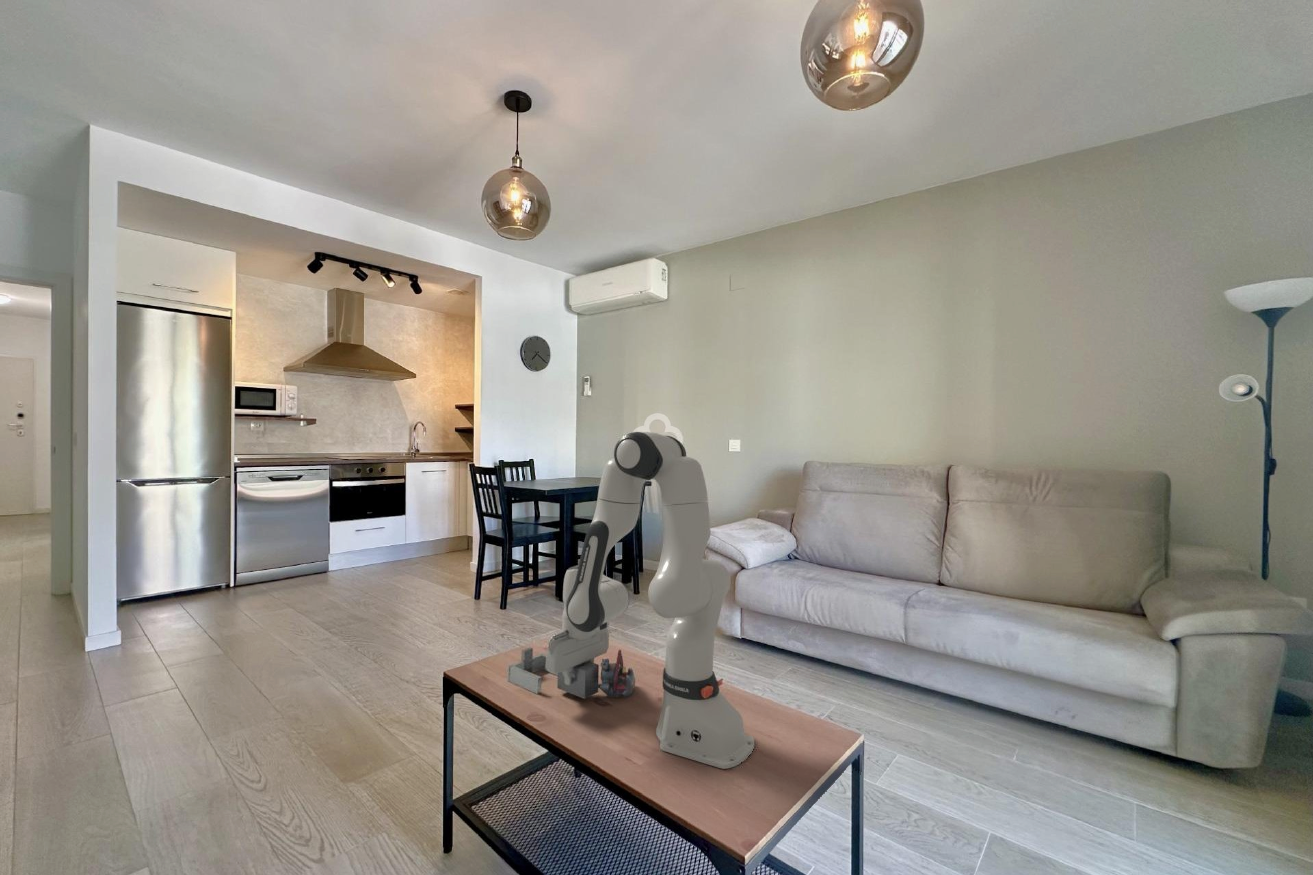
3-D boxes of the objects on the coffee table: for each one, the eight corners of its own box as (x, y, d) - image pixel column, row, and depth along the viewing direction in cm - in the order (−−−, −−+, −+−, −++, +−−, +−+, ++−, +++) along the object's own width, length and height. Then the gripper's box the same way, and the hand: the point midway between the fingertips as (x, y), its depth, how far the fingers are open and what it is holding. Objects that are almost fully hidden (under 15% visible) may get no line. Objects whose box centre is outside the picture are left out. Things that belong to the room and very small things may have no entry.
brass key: (627, 671, 154) (627, 666, 154) (624, 676, 151) (624, 670, 151) (603, 669, 156) (604, 663, 156) (600, 673, 153) (600, 668, 153)
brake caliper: (640, 693, 135) (613, 653, 136) (606, 716, 136) (579, 677, 137) (645, 675, 146) (621, 638, 147) (614, 696, 147) (589, 660, 148)
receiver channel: (571, 678, 148) (572, 653, 148) (537, 693, 138) (538, 667, 138) (541, 666, 155) (542, 642, 156) (507, 680, 146) (508, 654, 146)
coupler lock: (598, 691, 137) (598, 661, 137) (584, 698, 133) (585, 667, 133) (571, 681, 143) (571, 652, 143) (557, 687, 139) (558, 658, 139)
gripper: (558, 639, 128) (556, 696, 128) (613, 619, 145) (612, 670, 144) (540, 633, 132) (539, 689, 131) (596, 615, 148) (595, 665, 148)
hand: (577, 679), depth 138 cm, fingers closed on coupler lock, 5 cm apart
